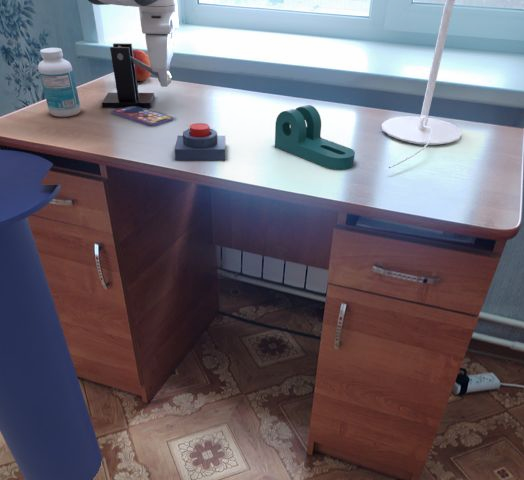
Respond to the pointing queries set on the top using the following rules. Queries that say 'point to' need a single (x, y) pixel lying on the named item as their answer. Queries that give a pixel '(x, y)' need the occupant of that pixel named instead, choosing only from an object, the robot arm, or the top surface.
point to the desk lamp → (426, 106)
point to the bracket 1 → (125, 81)
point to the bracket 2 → (310, 139)
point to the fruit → (140, 72)
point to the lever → (149, 68)
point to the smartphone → (143, 115)
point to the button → (199, 130)
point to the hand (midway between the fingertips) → (165, 83)
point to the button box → (200, 147)
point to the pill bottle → (58, 83)
